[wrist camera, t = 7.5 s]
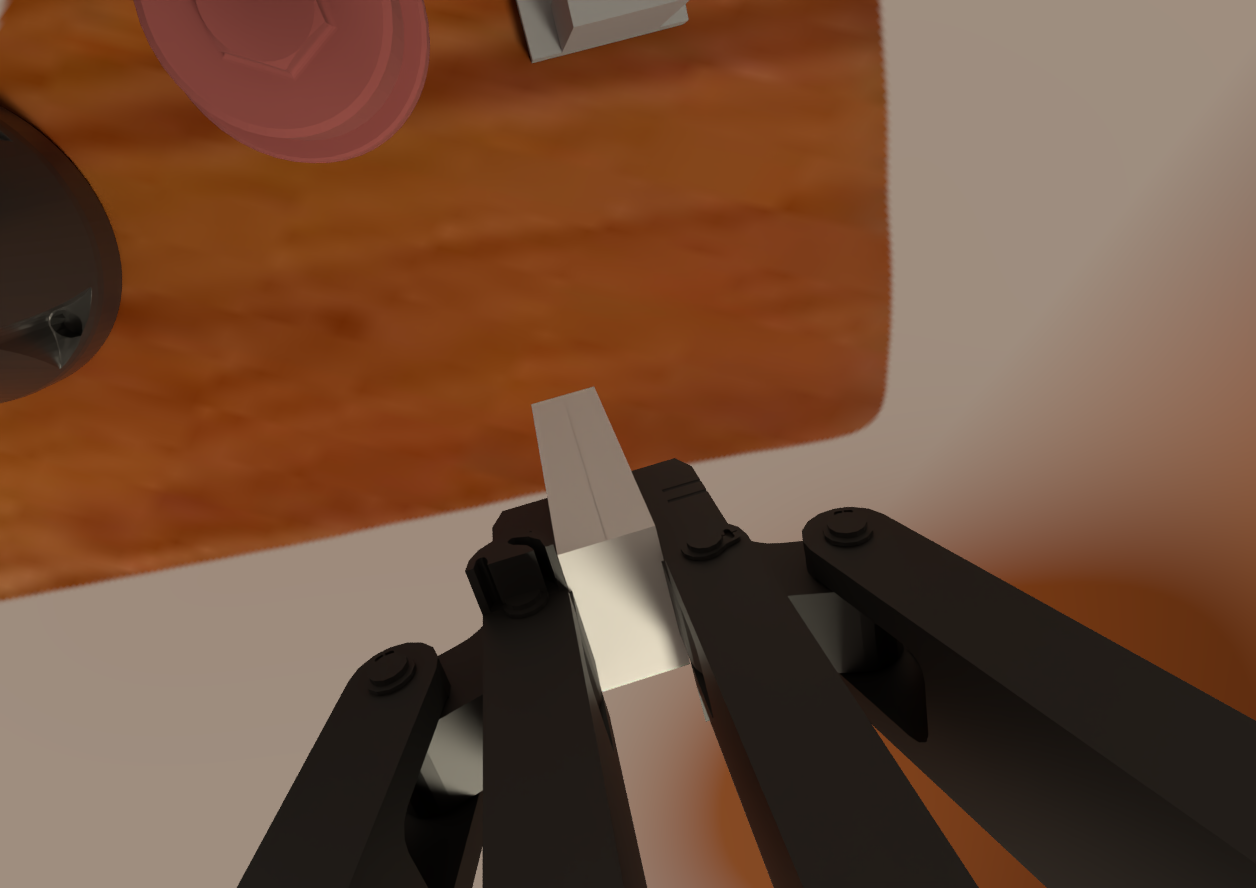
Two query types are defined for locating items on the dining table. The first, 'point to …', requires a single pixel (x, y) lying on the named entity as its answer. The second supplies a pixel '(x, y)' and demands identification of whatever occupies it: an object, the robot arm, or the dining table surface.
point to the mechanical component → (295, 69)
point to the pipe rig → (592, 23)
